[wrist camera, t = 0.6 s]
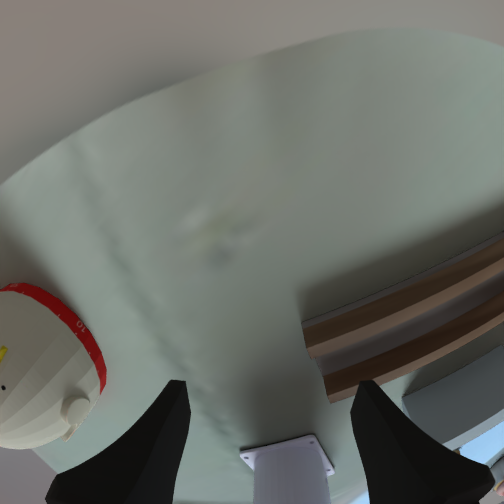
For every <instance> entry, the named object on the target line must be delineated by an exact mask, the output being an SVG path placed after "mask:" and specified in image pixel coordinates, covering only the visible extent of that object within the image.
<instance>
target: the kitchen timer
mask: <svg viewBox="0 0 504 504" xmlns="http://www.w3.org/2000/svg"><path fill="white" fill-rule="evenodd" d="M106 370H107V369H106V366H105V363H104V359H103V356H102V352H101V350H100V349H99V347H98V345H97V343H96V342H95V340H94V338H93V336H92V334H91V333H90V331H89V330H88V329H87V328H86V327H85V325H84V324H83V323H82V322H81V320H80V319H79V318H78V317H77V315H76V314H75V313H74V312H72V311H71V310H70V309H69V308H68V307H67V306H66V305H65V304H63V303H62V302H61V301H60V300H59V299H58V298H56V297H54V296H53V295H51V294H50V293H48V292H46V291H45V290H43V289H41V288H39V287H36V286H33V285H29V284H26V283H13V284H9V285H8V286H6V287H4V288H3V289H1V290H0V447H4V448H11V449H29V448H34V447H38V446H41V445H44V444H46V443H49V442H51V441H53V440H55V439H57V438H59V437H61V438H62V440H63V441H64V442H67V441H68V439H69V438H70V437H71V436H72V434H73V433H74V432H75V431H76V430H77V428H78V427H79V426H80V425H81V424H82V422H83V421H84V420H85V418H86V417H87V415H88V413H89V412H90V411H91V410H92V408H93V407H94V405H95V404H96V402H97V400H98V398H99V396H100V394H101V392H102V390H103V388H104V387H105V385H106Z"/></svg>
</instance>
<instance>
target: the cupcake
mask: <svg viewBox="0 0 504 504" xmlns="http://www.w3.org/2000/svg"><path fill="white" fill-rule="evenodd" d="M490 470H491V472H492V474H493V476H494V479H495V481H496V483H495V485H494V486H493V488H492V489H491V492H493V491H496V492H497V494H498V495H501V496H504V457H503V458H501V459H500V460H499V461H498V462H496V463H495V464H494V465H493V466H492V468H491V469H490Z"/></svg>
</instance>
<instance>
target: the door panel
mask: <svg viewBox="0 0 504 504" xmlns="http://www.w3.org/2000/svg"><path fill="white" fill-rule="evenodd" d="M402 405H403V412H404V414H405V415H406V416H407V417H408V418H409V419H410V420H411V421H412V422H413V423H415V424H416V425H417V426H418V427H419V428H420V429H421V430H423V431H424V432H425V433H427V434H428V435H429V436H431V437H432V438H433V439H435V440H436V441H437V442H439V443H440V444H442V445H444V446H445V447H447V448H449V449H450V450H452V451H453V450H455V449H457V448H459V447H460V446H462V445H464V444H466V443H468V442H469V441H471V440H473V439H475V438H476V437H478V436H480V435H482V434H483V433H485V432H487V431H488V430H490V429H491V428H493V427H495V426H496V425H498V424H499V423H501V422H502V421H504V347H503V346H502V345H500V346H498V347H497V348H495V349H494V350H492V351H490V352H489V353H487V354H485V355H484V356H482V357H480V358H479V359H477V360H475V361H474V362H472V363H470V364H468V365H467V366H465V367H463V368H461V369H459V370H458V371H456V372H454V373H452V374H450V375H448V376H446V377H444V378H443V379H441V380H439V381H437V382H435V383H433V384H431V385H428V386H426V387H424V388H422V389H420V390H418V391H416V392H414V393H411V394H409V395H407V396H405V397H402Z"/></svg>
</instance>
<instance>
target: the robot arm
mask: <svg viewBox="0 0 504 504" xmlns="http://www.w3.org/2000/svg"><path fill="white" fill-rule="evenodd" d="M350 414H351V421H352V427H353V433H354V437H355V440H356V443H357V447H358V450H359V454H360V457H361V460H362V464H363V467H364V471H365V475H366V479H367V485H368V492H369V500H370V504H480V503H479V500H480V499H481V498H483V497H484V496H485V495H486V494H487V493H488V492H489V491H490V490H491V489H492V488H493V486H494V485H495V483H496V481H495V479H494V476H493V474H492V472H491V470H490V468H489V467H488V466H487V465H484V464H481V463H478V462H476V461H473V460H470V459H468V458H466V457H464V456H462V455H460V454H458V453H456V452H454V451H452V450H450V449H449V448H447V447H445V446H444V445H442V444H440V443H439V442H437V441H436V440H435V439H433V438H432V437H431V436H429V435H428V434H427V433H425V432H424V431H423V430H421V429H420V428H419V427H418V426H417V425H416V424H415V423H413V422H412V421H411V420H410V419H409V418H408V417H407V416H406V415H405V414H404V413H403V412H402V411H401V410H400V409H399V408H398V407H397V406H396V405H395V403H394V402H393V401H392V400H391V399H390V398H389V397H388V396H387V395H386V394H385V392H384V391H383V390H382V389H381V388H380V387H379V386H378V384H377V383H376V382H375V381H374V380H365V381H360V382H359V386H358V389H357V392H356V396H355V399H354V402H353V405H352V408H351V411H350ZM190 417H191V410H190V404H189V399H188V393H187V387H186V381H180V380H170V381H169V382H168V384H167V385H166V386H165V388H164V389H163V391H162V392H161V393H160V395H159V396H158V397H157V398H156V400H155V401H154V402H153V403H152V405H151V406H150V407H149V408H148V409H147V410H146V412H145V413H144V414H143V415H142V416H141V417H140V418H139V419H138V420H137V421H136V422H135V424H134V425H133V426H132V427H131V428H130V429H129V430H127V431H126V432H125V433H124V434H123V435H122V436H121V437H120V438H118V439H117V440H116V441H115V442H114V443H112V444H111V445H110V446H108V447H107V448H106V449H104V450H103V451H101V452H100V453H99V454H97V455H95V456H94V457H92V458H90V459H89V460H87V461H85V462H83V463H82V464H80V465H78V466H76V467H74V468H72V469H69V470H67V471H65V472H63V473H60V474H58V475H56V477H55V479H54V480H53V482H52V484H51V486H50V488H49V491H48V493H47V495H46V498H45V500H46V502H47V504H172V502H173V494H174V487H175V481H176V476H177V472H178V468H179V465H180V461H181V458H182V454H183V450H184V447H185V443H186V439H187V436H188V431H189V424H190ZM240 457H241V458H242V459H243V460H244V461H245V462H246V463H247V464H248V465H249V466H250V467H251V468H252V469H253V470H254V499H253V504H331V500H330V493H329V487H328V480H327V476H329V475H332V474H334V473H335V470H334V468H333V467H332V465H331V463H330V461H329V460H328V458H327V456H326V454H325V453H324V451H323V449H322V447H321V446H320V444H319V442H318V440H317V438H316V437H315V436H314V435H307V436H304V437H300V438H296V439H293V440H289V441H285V442H281V443H277V444H272V445H268V446H264V447H259V448H254V449H249V450H244V451H241V452H240ZM499 504H504V501H503V502H501V503H499Z"/></svg>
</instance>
